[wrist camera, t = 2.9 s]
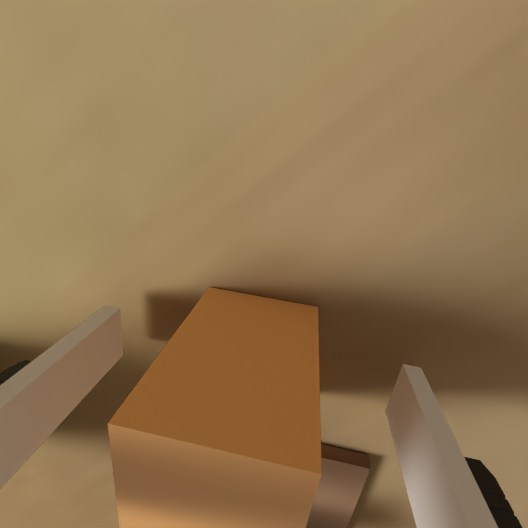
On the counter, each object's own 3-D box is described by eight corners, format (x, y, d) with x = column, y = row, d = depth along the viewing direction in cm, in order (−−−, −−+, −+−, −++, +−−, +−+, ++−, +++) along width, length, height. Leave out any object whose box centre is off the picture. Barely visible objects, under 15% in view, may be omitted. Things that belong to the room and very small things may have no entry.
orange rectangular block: (209, 287, 14) (107, 423, 7) (317, 306, 14) (321, 474, 7) (204, 371, 16) (121, 542, 9) (299, 391, 16) (287, 589, 9)
